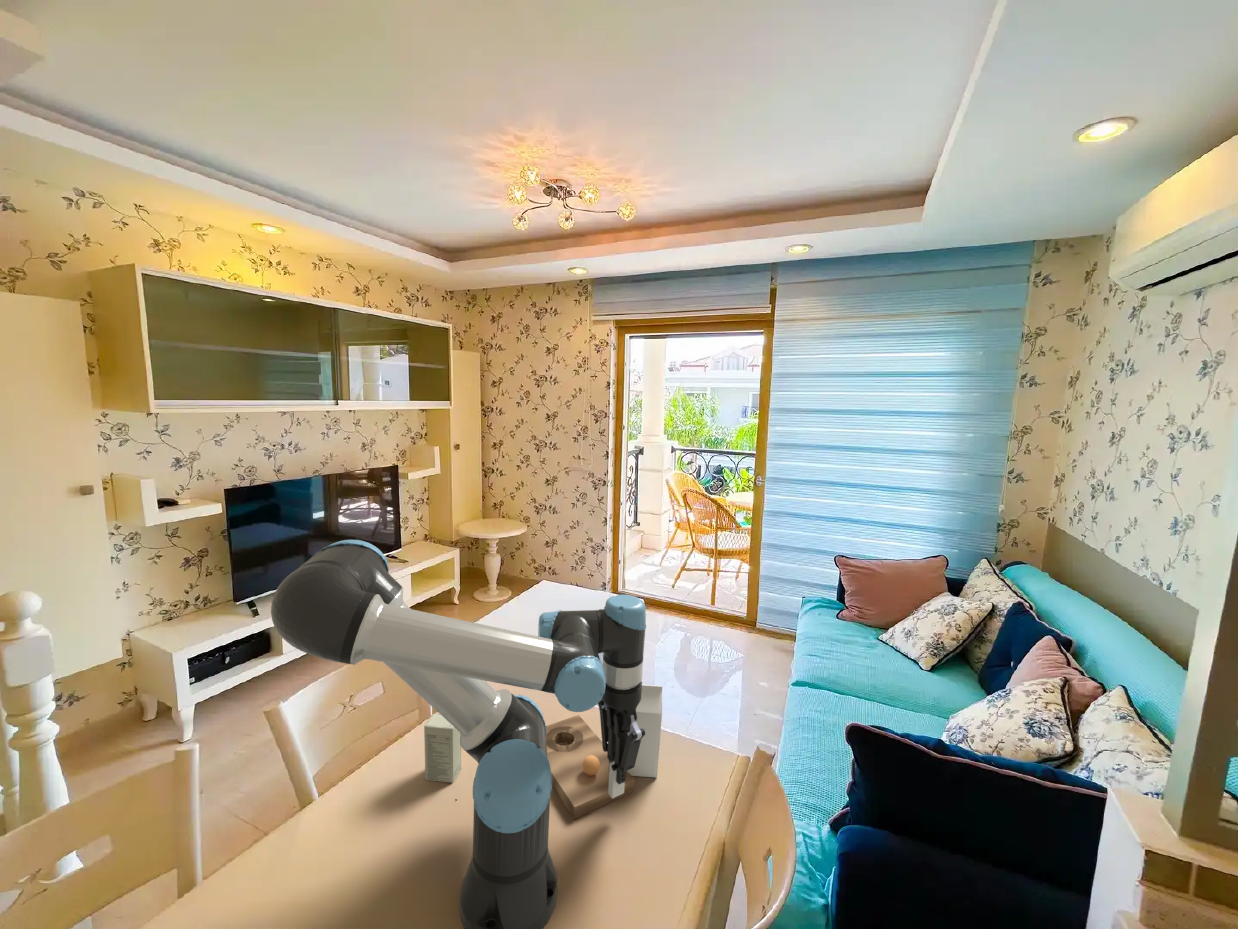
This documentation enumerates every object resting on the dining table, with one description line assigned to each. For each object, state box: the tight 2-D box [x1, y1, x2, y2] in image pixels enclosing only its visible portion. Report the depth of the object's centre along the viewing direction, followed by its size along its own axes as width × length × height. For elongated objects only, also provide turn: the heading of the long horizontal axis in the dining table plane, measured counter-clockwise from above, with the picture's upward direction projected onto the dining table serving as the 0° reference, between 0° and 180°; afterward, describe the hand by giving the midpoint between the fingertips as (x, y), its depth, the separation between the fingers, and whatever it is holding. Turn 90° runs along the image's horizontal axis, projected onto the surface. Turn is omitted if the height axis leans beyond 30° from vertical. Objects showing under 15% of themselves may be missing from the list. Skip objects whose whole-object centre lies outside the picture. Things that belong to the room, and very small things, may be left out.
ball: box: [583, 755, 600, 776], centre depth 104 cm, size 4×4×4 cm
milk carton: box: [628, 684, 663, 778], centre depth 109 cm, size 7×7×19 cm
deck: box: [546, 714, 636, 820], centre depth 109 cm, size 24×14×2 cm, turn 33°
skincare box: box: [423, 713, 462, 783], centre depth 104 cm, size 6×4×12 cm
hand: (616, 793), depth 96 cm, fingers closed
